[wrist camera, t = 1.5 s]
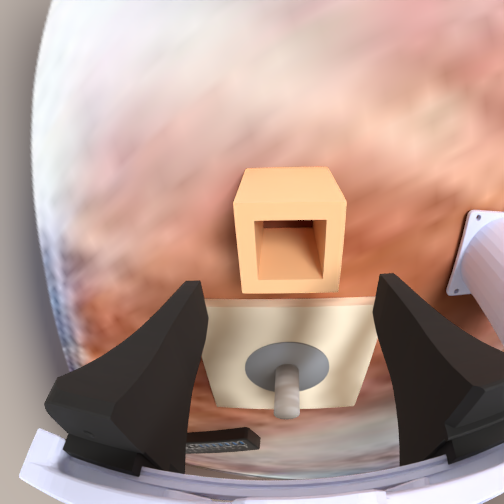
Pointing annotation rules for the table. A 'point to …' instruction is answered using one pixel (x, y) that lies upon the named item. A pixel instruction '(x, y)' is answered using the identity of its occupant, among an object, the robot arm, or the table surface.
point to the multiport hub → (222, 441)
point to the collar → (289, 230)
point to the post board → (288, 352)
